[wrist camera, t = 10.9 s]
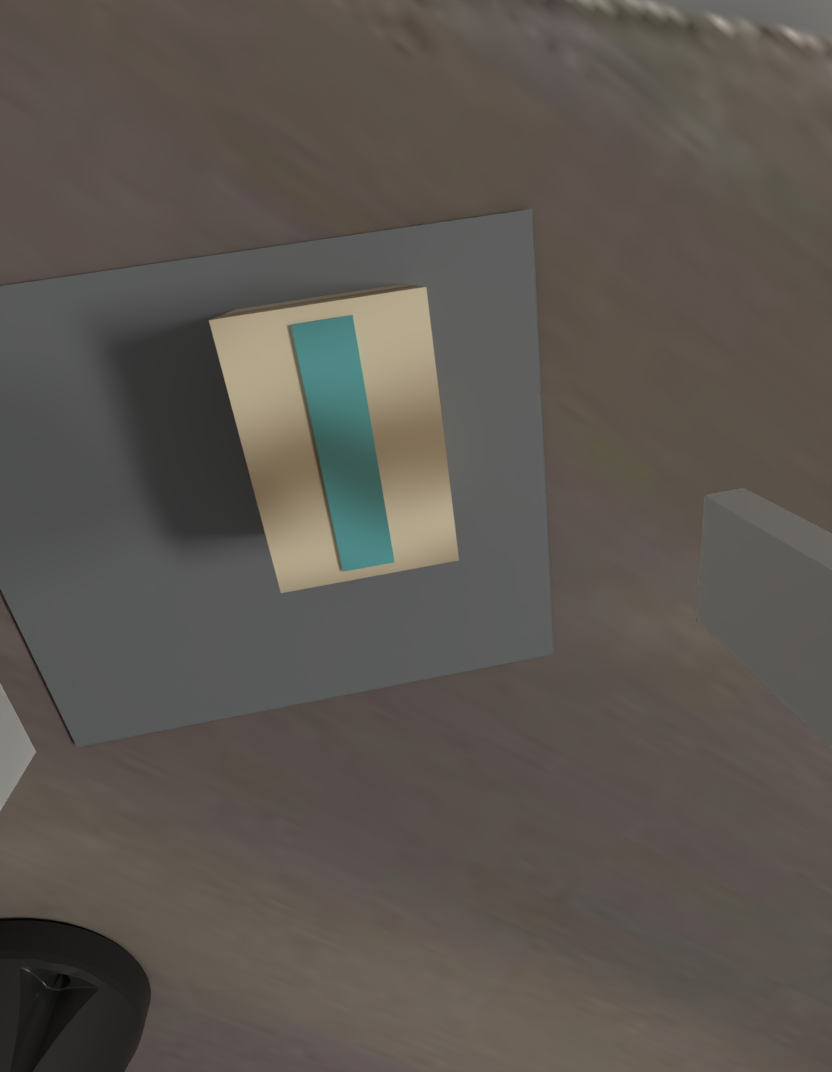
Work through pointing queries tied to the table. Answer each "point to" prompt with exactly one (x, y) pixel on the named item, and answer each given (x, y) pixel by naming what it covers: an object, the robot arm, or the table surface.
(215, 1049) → the table surface
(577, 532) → the table surface
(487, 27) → the table surface
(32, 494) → the rubber mat
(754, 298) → the table surface
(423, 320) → the maple block
